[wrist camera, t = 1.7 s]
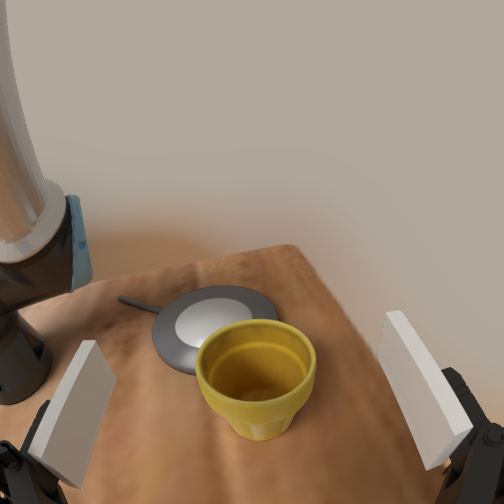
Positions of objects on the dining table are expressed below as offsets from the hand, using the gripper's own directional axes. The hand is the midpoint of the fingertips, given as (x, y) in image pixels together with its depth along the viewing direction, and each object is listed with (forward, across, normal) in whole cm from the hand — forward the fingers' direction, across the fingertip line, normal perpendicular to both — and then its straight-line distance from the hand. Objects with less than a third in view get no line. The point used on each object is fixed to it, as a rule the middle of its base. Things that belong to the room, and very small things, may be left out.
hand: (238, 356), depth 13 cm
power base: (+27, -11, -18) cm, 34 cm away
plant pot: (+9, 0, -19) cm, 21 cm away
